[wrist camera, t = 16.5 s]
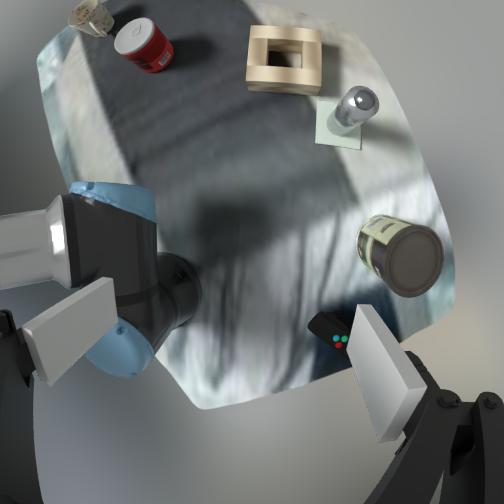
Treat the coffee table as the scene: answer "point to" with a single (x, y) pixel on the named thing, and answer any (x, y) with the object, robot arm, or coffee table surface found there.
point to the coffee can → (401, 254)
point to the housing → (284, 77)
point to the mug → (91, 18)
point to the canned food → (144, 45)
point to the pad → (326, 136)
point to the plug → (352, 110)
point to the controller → (332, 331)
